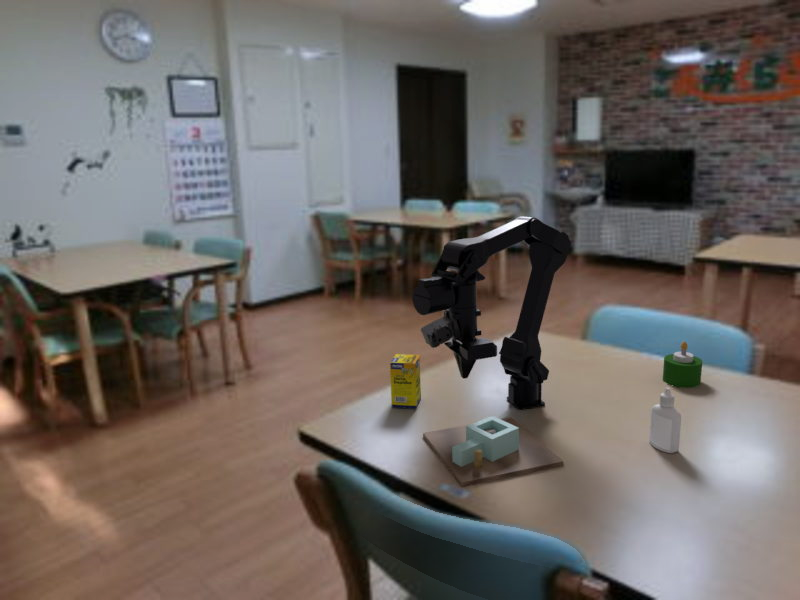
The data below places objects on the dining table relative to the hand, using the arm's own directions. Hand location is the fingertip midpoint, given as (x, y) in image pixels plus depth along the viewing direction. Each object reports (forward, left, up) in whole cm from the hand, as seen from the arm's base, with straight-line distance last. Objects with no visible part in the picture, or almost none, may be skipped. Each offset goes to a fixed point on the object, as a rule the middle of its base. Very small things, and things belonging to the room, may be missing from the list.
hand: (464, 377), depth 127 cm
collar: (+3, +14, -10) cm, 17 cm away
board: (0, +12, -11) cm, 16 cm away
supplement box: (+8, -15, -11) cm, 20 cm away
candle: (-57, -2, -11) cm, 58 cm away
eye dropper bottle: (-31, +23, -11) cm, 40 cm away
